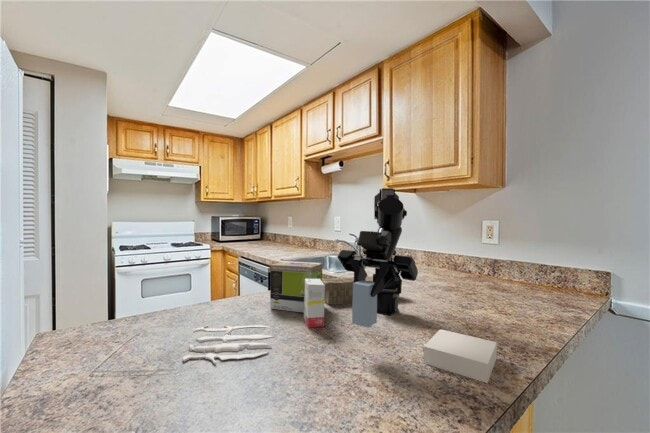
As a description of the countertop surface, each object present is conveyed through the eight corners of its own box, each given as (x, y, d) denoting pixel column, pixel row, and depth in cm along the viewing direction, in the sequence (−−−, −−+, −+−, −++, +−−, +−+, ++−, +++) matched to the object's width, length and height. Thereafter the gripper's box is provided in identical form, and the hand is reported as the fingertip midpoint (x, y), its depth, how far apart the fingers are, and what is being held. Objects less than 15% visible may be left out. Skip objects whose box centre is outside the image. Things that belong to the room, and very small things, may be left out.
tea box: (322, 305, 102) (323, 262, 101) (312, 315, 92) (312, 267, 92) (283, 300, 106) (283, 259, 106) (269, 309, 97) (269, 263, 97)
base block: (423, 365, 63) (423, 346, 63) (439, 345, 72) (440, 329, 72) (487, 385, 56) (487, 364, 56) (496, 360, 65) (496, 342, 65)
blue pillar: (352, 323, 66) (352, 283, 66) (361, 318, 70) (361, 280, 70) (368, 327, 64) (368, 286, 64) (376, 322, 67) (377, 282, 67)
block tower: (389, 296, 118) (318, 299, 110) (390, 275, 118) (319, 276, 110) (399, 302, 110) (324, 305, 102) (400, 279, 111) (325, 280, 102)
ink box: (324, 327, 82) (325, 284, 82) (306, 328, 81) (307, 284, 81) (319, 316, 90) (320, 277, 90) (303, 317, 90) (304, 278, 90)
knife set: (273, 367, 60) (273, 362, 60) (82, 378, 55) (82, 372, 55) (275, 324, 86) (275, 320, 86) (145, 328, 81) (145, 324, 81)
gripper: (342, 217, 76) (314, 267, 67) (414, 219, 65) (391, 279, 56) (357, 246, 82) (334, 294, 73) (425, 252, 71) (407, 310, 62)
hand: (362, 294), depth 66 cm, fingers closed on blue pillar, 4 cm apart
